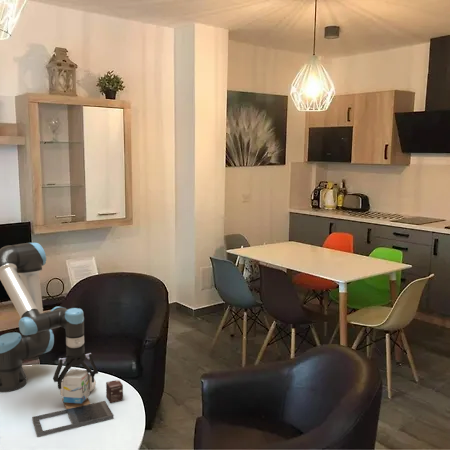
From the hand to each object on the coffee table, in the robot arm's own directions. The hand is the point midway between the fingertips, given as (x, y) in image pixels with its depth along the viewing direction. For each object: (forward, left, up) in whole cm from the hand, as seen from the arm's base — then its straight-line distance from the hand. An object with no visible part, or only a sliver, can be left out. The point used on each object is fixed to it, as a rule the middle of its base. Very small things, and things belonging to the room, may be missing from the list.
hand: (76, 392), depth 219 cm
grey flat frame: (+12, -4, -5) cm, 14 cm away
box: (+3, +16, -6) cm, 17 cm away
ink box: (0, 0, -3) cm, 3 cm away
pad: (0, 0, -5) cm, 5 cm away
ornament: (-9, +7, -6) cm, 13 cm away
